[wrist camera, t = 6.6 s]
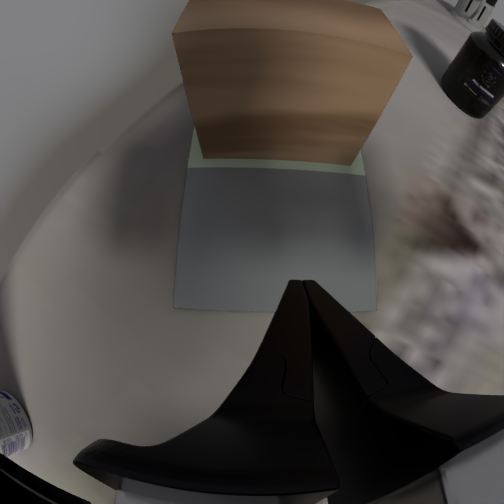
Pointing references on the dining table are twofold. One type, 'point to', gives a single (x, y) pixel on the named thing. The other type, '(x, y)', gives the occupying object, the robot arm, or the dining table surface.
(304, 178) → the mat
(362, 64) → the t block
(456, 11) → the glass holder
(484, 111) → the supplement bottle
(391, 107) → the dining table surface
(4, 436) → the energy drink
